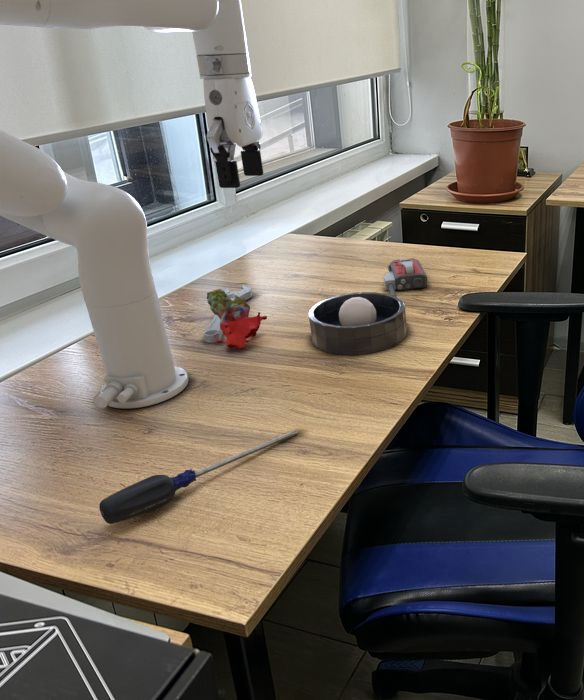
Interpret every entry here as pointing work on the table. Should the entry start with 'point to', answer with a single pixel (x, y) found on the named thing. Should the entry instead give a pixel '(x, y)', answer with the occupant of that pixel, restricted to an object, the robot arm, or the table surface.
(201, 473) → the screwdriver
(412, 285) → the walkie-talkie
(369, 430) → the table surface
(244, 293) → the adjustable wrench
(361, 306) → the white ball
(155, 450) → the table surface
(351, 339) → the bowl
